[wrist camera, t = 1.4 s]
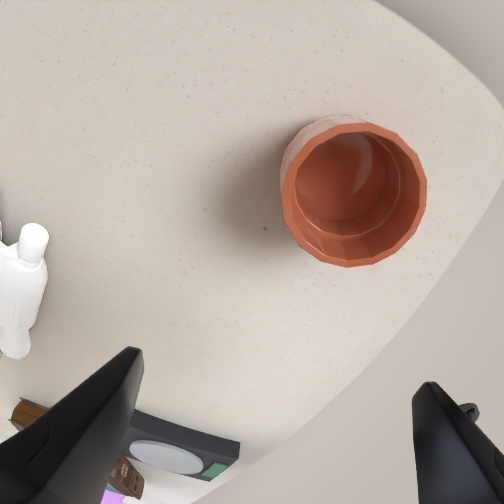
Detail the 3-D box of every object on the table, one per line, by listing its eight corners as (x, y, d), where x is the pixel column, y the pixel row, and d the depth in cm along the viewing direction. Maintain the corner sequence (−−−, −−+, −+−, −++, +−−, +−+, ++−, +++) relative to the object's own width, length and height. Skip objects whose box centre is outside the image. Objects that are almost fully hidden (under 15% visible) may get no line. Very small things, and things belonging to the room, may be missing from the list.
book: (146, 479, 46) (140, 500, 42) (72, 457, 47) (65, 475, 42) (104, 426, 35) (93, 454, 30) (18, 396, 36) (6, 418, 31)
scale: (240, 442, 33) (238, 463, 30) (211, 468, 38) (208, 485, 36) (127, 406, 31) (120, 426, 28) (121, 439, 36) (115, 456, 34)
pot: (409, 197, 17) (442, 228, 13) (314, 246, 19) (324, 288, 15) (363, 94, 15) (392, 97, 11) (257, 151, 17) (252, 171, 13)
